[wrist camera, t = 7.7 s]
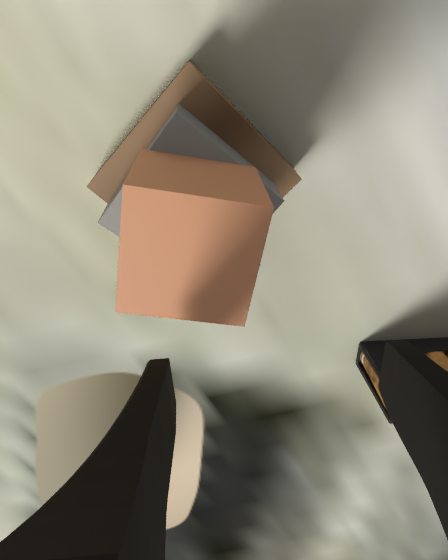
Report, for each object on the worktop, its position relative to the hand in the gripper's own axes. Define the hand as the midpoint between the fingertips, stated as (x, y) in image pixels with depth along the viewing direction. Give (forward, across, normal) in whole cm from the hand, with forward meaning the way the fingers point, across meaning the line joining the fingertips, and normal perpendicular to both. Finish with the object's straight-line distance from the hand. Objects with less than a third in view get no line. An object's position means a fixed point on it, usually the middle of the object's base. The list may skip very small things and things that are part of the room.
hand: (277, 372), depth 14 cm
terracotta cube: (+6, +3, -4) cm, 8 cm away
